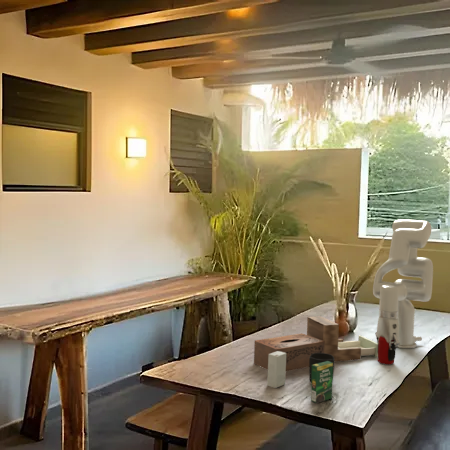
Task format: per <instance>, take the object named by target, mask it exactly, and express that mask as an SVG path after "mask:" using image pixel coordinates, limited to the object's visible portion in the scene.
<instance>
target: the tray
mask: <svg viewBox="0 0 450 450" xmlns="http://www.w3.org/2000/svg"><path fill="white" fill-rule="evenodd" d="M346 348H361V357H364V356H373V357H375V358H378V344H377V341H374V340H371V339H369V338H367V337H365V336H362V335H361V334H360V335H358V340H350V341H343V342H338V349H346Z"/></svg>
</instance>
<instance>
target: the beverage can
mask: <svg viewBox="0 0 450 450" xmlns="http://www.w3.org/2000/svg"><path fill="white" fill-rule="evenodd" d="M391 342H393V340H391ZM392 345H393V343H392V344H391V346H392ZM388 349H389V345H388V342H387V341H386V339H385V337H384V336H380V337H379V344H378V357H377V362H378V363H380V365H384V366H391V365H392V364H395V358H394V359H388Z"/></svg>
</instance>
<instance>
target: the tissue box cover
mask: <svg viewBox="0 0 450 450" xmlns="http://www.w3.org/2000/svg"><path fill="white" fill-rule="evenodd" d="M324 347H325V341H323V340H320V339H317V338H314V337H311V336H308V335H307V334H305V333H295V334H288V335H283V336H281V335H280V336H276V337H269V338H261V339H257V340H254V349H253V364H254V365H255V366H257V367H260V366H261V368H262V367H263V369H265V370H267V371H268V356H269V354H271V353H274V352H276V351H280V352H284V353H286V372H290V371H296V370H300V369H301V370H302V369H305V368H309V357H310V356H311V355H312V354H313V353H324Z"/></svg>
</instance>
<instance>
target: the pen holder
mask: <svg viewBox="0 0 450 450" xmlns="http://www.w3.org/2000/svg"><path fill="white" fill-rule="evenodd" d="M334 360H335V359H334V357H333V356H332V355H330V354H326V353H313V354H312V355H311V356H310V357H309V367H308V370H309V372H308V373H309V375H308V376H309V379H308V380H309V382H310V383H311V379H312V365H314V364H318V363H322V362H325V361H330V362H332V363H333V373H334V370H335V362H334ZM333 378H334V376H333V377H332V383H333V381H334V379H333Z"/></svg>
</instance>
